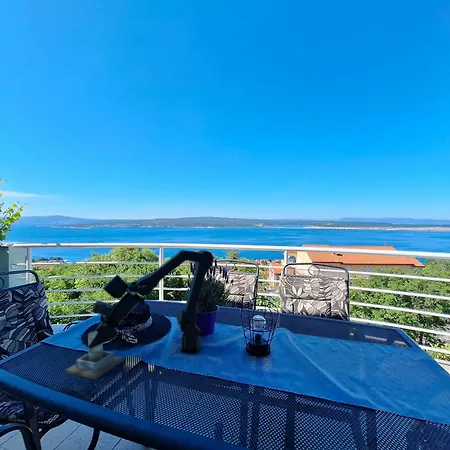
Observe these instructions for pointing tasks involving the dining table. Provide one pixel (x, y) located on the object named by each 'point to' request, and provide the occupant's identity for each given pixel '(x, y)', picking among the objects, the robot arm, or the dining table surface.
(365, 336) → the dining table surface
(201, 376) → the dining table surface
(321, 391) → the dining table surface
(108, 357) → the socket
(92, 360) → the peg
